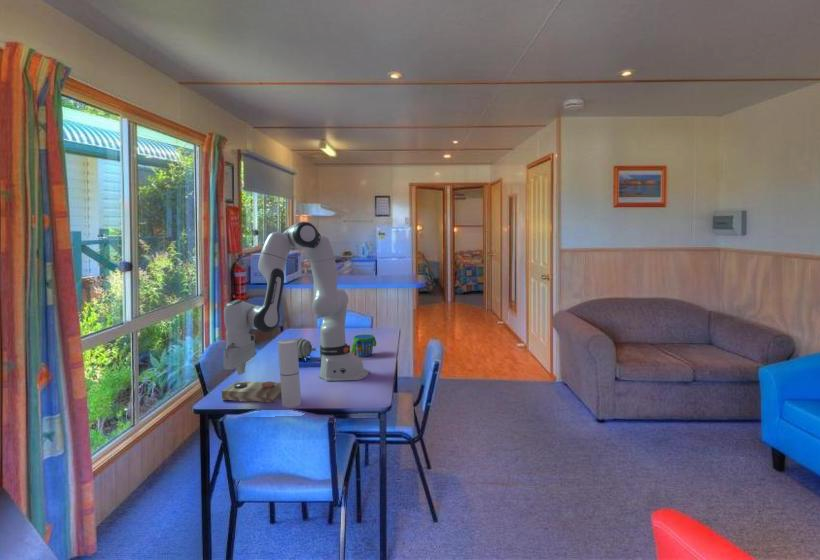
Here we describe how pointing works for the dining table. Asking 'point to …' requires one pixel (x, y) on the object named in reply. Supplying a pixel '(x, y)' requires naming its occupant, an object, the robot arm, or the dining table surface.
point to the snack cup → (363, 345)
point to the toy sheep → (304, 348)
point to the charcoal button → (240, 385)
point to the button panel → (252, 392)
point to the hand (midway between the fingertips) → (241, 373)
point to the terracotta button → (267, 385)
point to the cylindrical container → (289, 372)
